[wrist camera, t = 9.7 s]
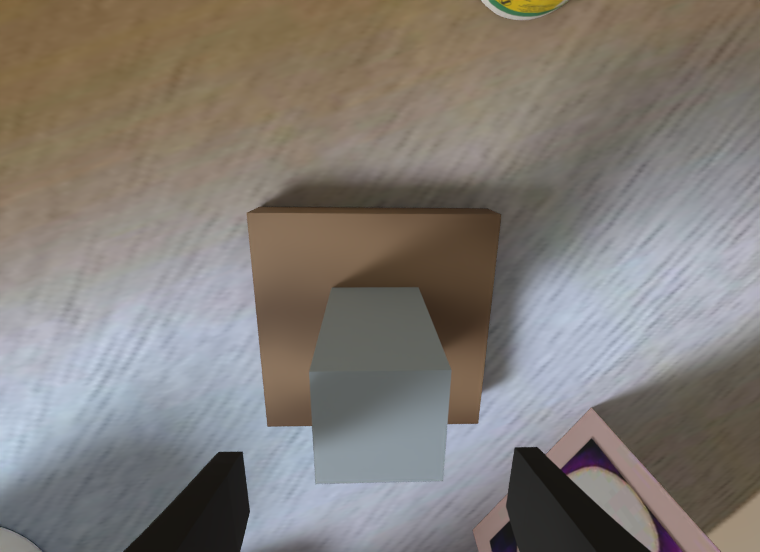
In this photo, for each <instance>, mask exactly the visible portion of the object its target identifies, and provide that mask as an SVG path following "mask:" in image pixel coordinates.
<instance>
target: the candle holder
mask: <svg viewBox="0 0 760 552" xmlns="http://www.w3.org/2000/svg"><path fill="white" fill-rule="evenodd" d="M0 552H42V551H41V550H40V549H39V548H38V547H37V546H36V545H35V544H34V543H32V542H31V541H30V540H28V539H26V538H25V537H23V536H21V535H20V534H18V533H15V532H13V531H11V530H8V529H6V528H3V527H0Z"/></svg>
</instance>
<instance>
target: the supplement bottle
mask: <svg viewBox="0 0 760 552" xmlns="http://www.w3.org/2000/svg"><path fill="white" fill-rule="evenodd" d="M481 1H482V2H483V3H484V4H485V5H486V6H487V7H488V8H489V9H490V10H492V11H493V12H494V13H496V14H497V15H499V16H502V17H505V18H508V19H513V20H531V19H536V18H539V17H542V16H544V15H547V14H549V13H551V12H553V11H555V10H556V9H558V8H559V7H561V6H562V5H564V4H565V3H566V2H568V1H569V0H481Z"/></svg>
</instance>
